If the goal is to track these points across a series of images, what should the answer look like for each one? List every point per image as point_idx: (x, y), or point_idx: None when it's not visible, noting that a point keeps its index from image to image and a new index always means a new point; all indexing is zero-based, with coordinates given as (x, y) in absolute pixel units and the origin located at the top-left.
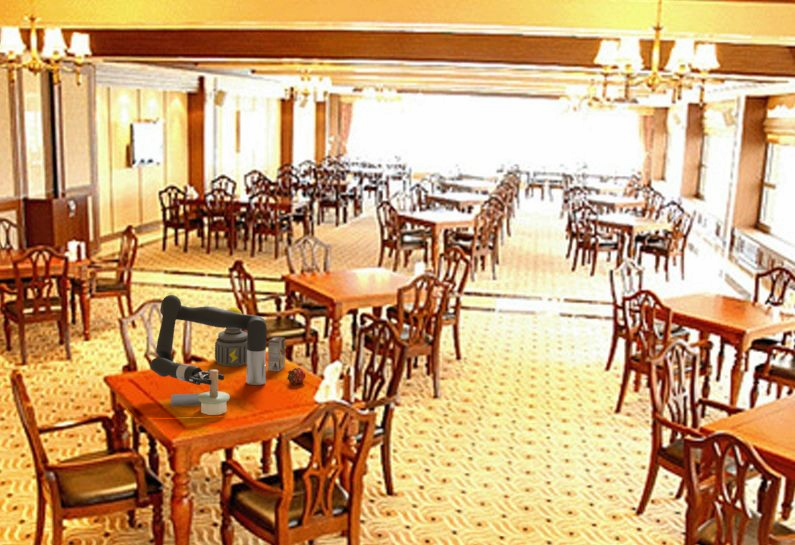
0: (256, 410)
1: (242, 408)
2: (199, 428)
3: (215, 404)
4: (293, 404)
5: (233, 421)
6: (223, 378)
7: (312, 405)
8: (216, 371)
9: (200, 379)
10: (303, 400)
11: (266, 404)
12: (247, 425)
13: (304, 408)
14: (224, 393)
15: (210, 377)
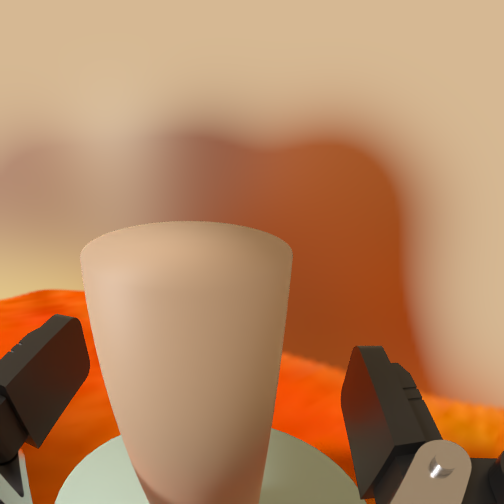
0: None
1: (97, 441)
2: None
3: None
4: (37, 316)
5: (291, 410)
6: (79, 349)
7: (48, 289)
8: (211, 225)
9: (466, 500)
10: (8, 305)
11: None
12: (291, 358)
13: (71, 296)
14: (90, 476)
15: (273, 398)
